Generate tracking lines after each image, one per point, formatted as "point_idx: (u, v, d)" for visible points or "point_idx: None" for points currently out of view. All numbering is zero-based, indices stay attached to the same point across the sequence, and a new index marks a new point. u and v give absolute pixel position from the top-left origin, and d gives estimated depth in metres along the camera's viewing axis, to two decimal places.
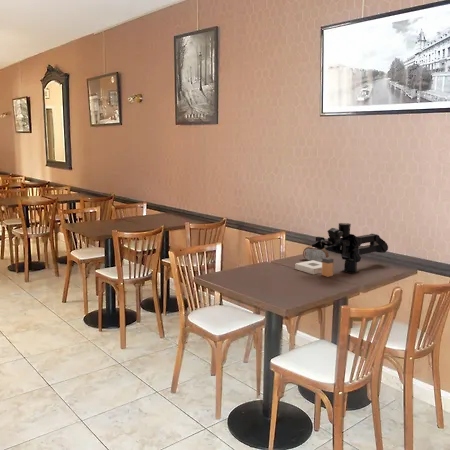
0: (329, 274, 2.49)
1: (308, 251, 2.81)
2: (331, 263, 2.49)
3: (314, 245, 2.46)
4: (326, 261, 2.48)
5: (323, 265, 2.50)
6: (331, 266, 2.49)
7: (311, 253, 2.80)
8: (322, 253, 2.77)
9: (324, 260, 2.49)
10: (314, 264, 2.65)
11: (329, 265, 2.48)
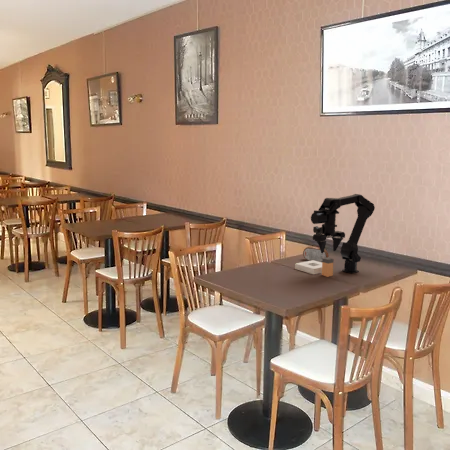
0: (329, 274, 2.49)
1: (308, 251, 2.81)
2: (331, 263, 2.49)
3: (334, 248, 2.51)
4: (326, 261, 2.48)
5: (323, 265, 2.50)
6: (331, 266, 2.49)
7: (311, 253, 2.80)
8: (322, 253, 2.77)
9: (324, 260, 2.49)
10: (314, 264, 2.65)
11: (329, 265, 2.48)
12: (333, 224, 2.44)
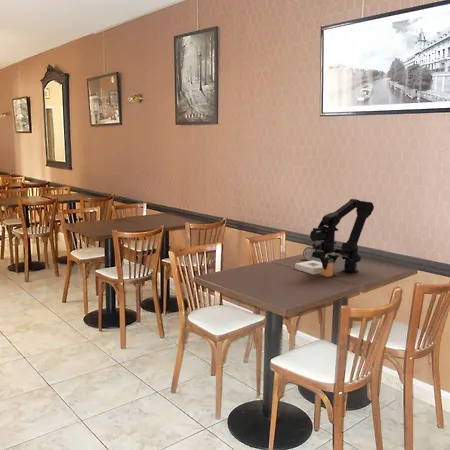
0: (329, 274, 2.49)
1: (308, 251, 2.81)
2: (331, 263, 2.49)
3: None
4: None
5: None
6: (331, 266, 2.49)
7: (311, 253, 2.80)
8: None
9: None
10: (314, 264, 2.65)
11: (329, 265, 2.48)
12: (332, 241, 2.46)
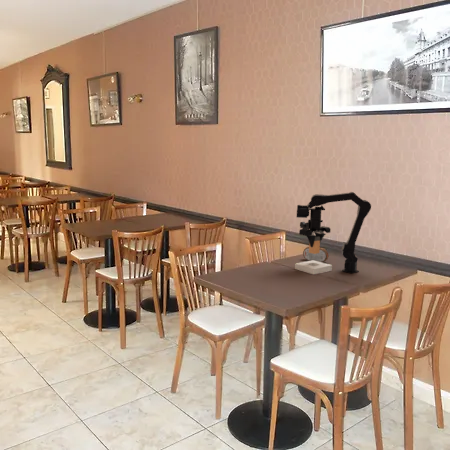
0: (316, 251, 2.58)
1: (308, 251, 2.81)
2: (318, 241, 2.58)
3: None
4: None
5: None
6: (318, 244, 2.58)
7: (311, 253, 2.80)
8: (322, 253, 2.77)
9: None
10: (314, 264, 2.65)
11: (315, 243, 2.57)
12: (319, 219, 2.54)
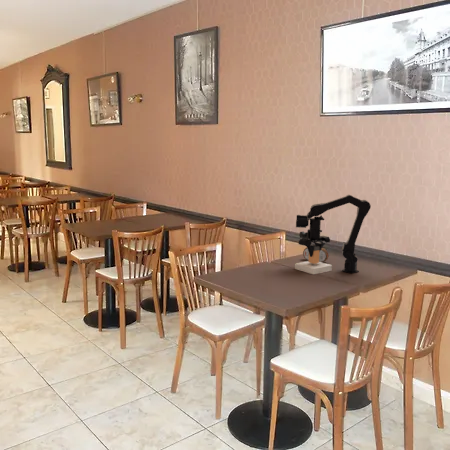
0: (315, 261, 2.59)
1: (308, 251, 2.81)
2: (317, 250, 2.59)
3: None
4: None
5: None
6: (317, 253, 2.59)
7: None
8: (322, 253, 2.77)
9: None
10: (314, 264, 2.65)
11: (315, 252, 2.58)
12: (318, 229, 2.56)
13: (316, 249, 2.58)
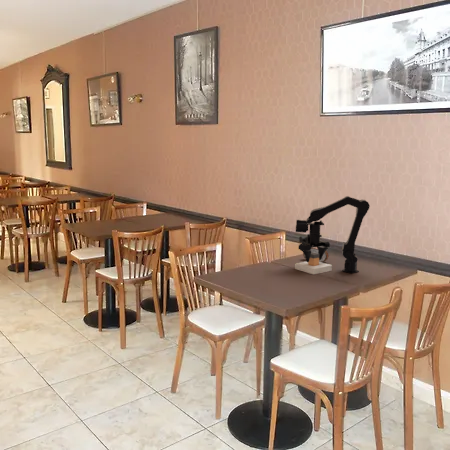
0: None
1: None
2: (317, 258, 2.60)
3: (319, 257, 2.63)
4: (312, 256, 2.59)
5: (309, 260, 2.61)
6: (317, 261, 2.60)
7: None
8: None
9: (310, 255, 2.60)
10: None
11: (314, 260, 2.59)
12: (318, 234, 2.56)
13: (316, 257, 2.59)
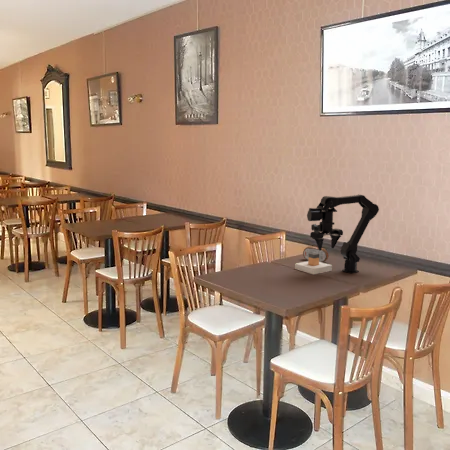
0: None
1: (308, 251, 2.81)
2: (317, 258, 2.60)
3: (332, 245, 2.56)
4: (312, 256, 2.59)
5: (309, 260, 2.61)
6: (317, 261, 2.60)
7: None
8: (322, 253, 2.77)
9: (310, 255, 2.60)
10: None
11: (314, 260, 2.59)
12: (330, 222, 2.48)
13: (316, 257, 2.59)
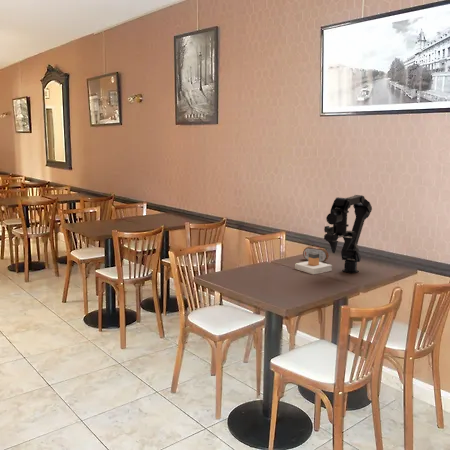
0: None
1: (308, 251, 2.81)
2: (317, 258, 2.60)
3: (345, 248, 2.49)
4: (312, 256, 2.59)
5: (309, 260, 2.61)
6: (317, 261, 2.60)
7: None
8: (322, 253, 2.77)
9: (310, 255, 2.60)
10: None
11: (314, 260, 2.59)
12: (345, 224, 2.42)
13: (316, 257, 2.59)
